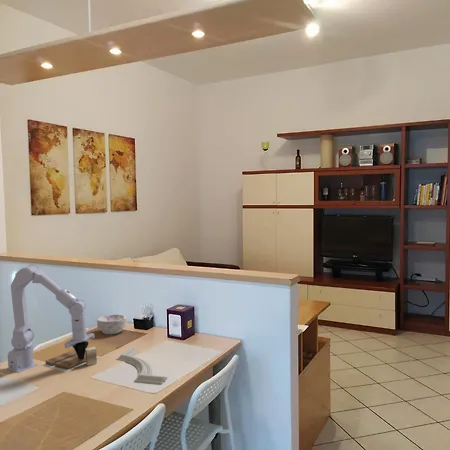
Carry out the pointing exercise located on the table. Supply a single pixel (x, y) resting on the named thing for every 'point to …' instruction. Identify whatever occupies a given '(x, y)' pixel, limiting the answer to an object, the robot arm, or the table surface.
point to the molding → (141, 368)
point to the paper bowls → (111, 323)
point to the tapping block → (91, 356)
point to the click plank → (70, 362)
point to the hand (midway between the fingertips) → (81, 358)
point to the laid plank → (60, 357)
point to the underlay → (65, 368)
